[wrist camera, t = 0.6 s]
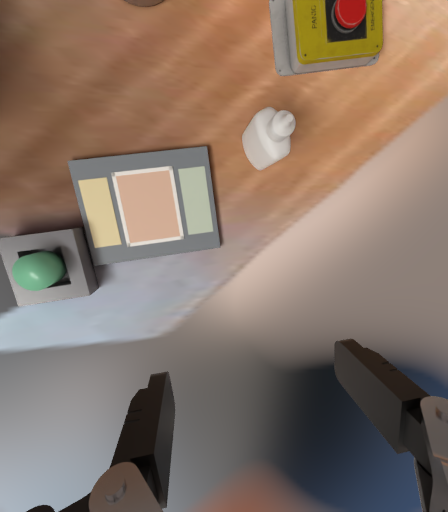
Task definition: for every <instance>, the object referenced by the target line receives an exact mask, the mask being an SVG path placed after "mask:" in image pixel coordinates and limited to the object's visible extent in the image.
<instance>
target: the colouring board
mask: <svg viewBox="0 0 448 512" xmlns="http://www.w3.org/2000/svg"><path fill="white" fill-rule="evenodd" d="M68 165H69V169H70V173H71V177H72V181H73V184H74V188H75V192H76V196H77V200H78V204H79V208H80V212H81V216H82V220H83V224H84V228H85V232H86V235H87V239H88V243H89V247H90V251H91V255H92V259H93V263H94V266H98V265H104V264H111V263H118V262H125V261H132V260H138V259H145V258H152V257H159V256H166V255H172V254H179V253H186V252H193V251H200V250H206V249H213V248H220V241H219V234H218V226H217V219H216V211H215V204H214V196H213V188H212V181H211V173H210V166H209V158H208V151H207V146H204V147H195V148H185V149H176V150H167V151H157V152H148V153H138V154H129V155H120V156H110V157H101V158H91V159H82V160H73V161H68Z"/></svg>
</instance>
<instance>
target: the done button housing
mask: <svg viewBox="0 0 448 512" xmlns="http://www.w3.org/2000/svg"><path fill="white" fill-rule="evenodd" d="M41 251H52V252H54V253H56V254H58V255H60V256H61V257H62V258H63V260H64V262H65V264H66V273H65V276H64V277H63V278H62V279H61V280H60V281H58V282H56V283H54V284H52V285H50V286H48V287H47V288H45V289H43V290H39V291H30V290H27V289H24V288H23V287H21V286H20V285H19V284H18V283H17V282H16V281H15V279H14V277H13V274H12V268H13V265H14V263H15V262H16V261H17V260H18V259H19V258H21V257H23V256H26V255H30V254H33V253H37V252H41ZM0 253H1V256H2V259H3V262H4V265H5V268H6V271H7V274H8V277H9V280H10V282H11V286H12V288H13V292H14V294H15V297H16V300H17V303H18V306H19V307H20V306H26V305H32V304H39V303H45V302H51V301H58V300H64V299H70V298H77V297H83V296H89V295H91V294H92V293H93V292H95V291H96V290H97V289H98V288H99V287H98V283H97V279H96V275H95V271H94V267H93V263H92V259H91V255H90V251H89V247H88V244H87V240H86V236H85V232H84V228H83V227H81V228H73V229H66V230H58V231H50V232H43V233H35V234H28V235H20V236H13V237H6V238H0Z"/></svg>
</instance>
